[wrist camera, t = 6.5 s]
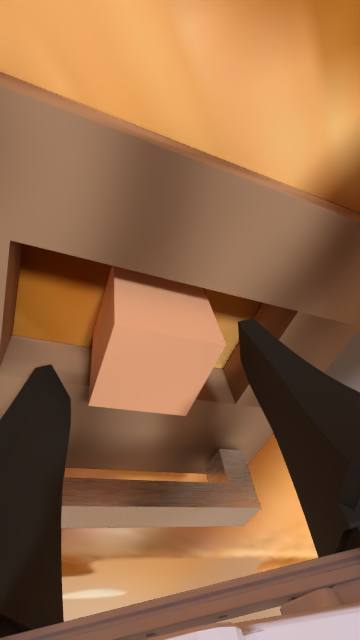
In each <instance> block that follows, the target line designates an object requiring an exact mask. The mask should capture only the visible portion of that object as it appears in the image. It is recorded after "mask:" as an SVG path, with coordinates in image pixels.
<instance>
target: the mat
mask: <svg viewBox="0 0 360 640" xmlns="http://www.w3.org/2000/svg"><path fill="white" fill-rule="evenodd" d="M324 373H325V374H327V375H329V376H330V377H332V378H334V379H335V380H337V381H339V382H341V383H342V384H344V385H346V386H348V387H350V388H352V389H354V390H356V391H358V392H360V329H359V330H358V331H357V333H356V334H355V335H354V336H353V338H352V339H351V340H350V341H349V342H348V344H347V345H346V346H345V347H344V348H343V350H342V351H341V352H340V353H339V355H338V356H337V357H336V358H335V359H334V361H333V362H332V363H331V364H330V365H329V367H328V368H327V369H326V370H325V372H324Z"/></svg>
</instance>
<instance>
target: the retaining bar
mask: <svg viewBox="0 0 360 640" xmlns="http://www.w3.org/2000/svg"><path fill="white" fill-rule="evenodd" d="M205 470H206V475H207V479H208V483H203V482H175V481H147V480H119V479H91V478H64V479H63V489H62V513H61V528H128V527H210V526H244V525H245V524H246V523H247V522H248V521H249V520H250V519H251V518H252V517H253V516H254V515H255V514H256V513H257V512H258V511H259V510H260V509H261V506H260V503H259V500H258V497H257V494H256V491H255V488H254V485H253V482H252V479H251V476H250V473H249V470H248V467H247V464H246V461H245V458H244V455H243V452H242V450H234V449H220V448H219V449H218V450H217V452H216V453H215V455H214V456H213V457H212V459H211V460H210V462H209V463H208V464H207V466H206V467H205Z"/></svg>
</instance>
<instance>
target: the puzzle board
mask: <svg viewBox="0 0 360 640" xmlns="http://www.w3.org/2000/svg"><path fill="white" fill-rule="evenodd" d="M23 244H27V245H31V246H35V247H39V248H43V249H47V250H51V251H55V252H59V253H63V254H68V255H72V256H76V257H80V258H84V259H88V260H92V261H96V262H100V263H104V264H108V265H112V266H116V267H120V268H124V269H128V270H132V271H136V272H141V273H145V274H149V275H153V276H157V277H161V278H165V279H169V280H173V281H177V282H181V283H185V284H189V285H193V286H197V287H201V288H205V289H210V290H214V291H218V292H222V293H226V294H230V295H234V296H238V297H242V298H246V299H250V300H254V301H258V302H262V305H261V306H260V308H259V310H258V311H257V313H256V315H255V316H254V319H255V320H257V321H258V322H259V323H260V324H261V325H262V326H263V327H265V328H266V329H267V330H268V331H269V332H270V333H271V334H272V335H274V336H275V337H276V338H277V339H278V340H280V341H281V342H282V343H283V344H285V345H286V346H287V347H288V348H290V349H291V350H292V351H293V352H295V353H296V354H297V355H299V356H300V357H301V358H303V359H304V360H306V361H307V362H309V363H310V364H311V365H313V366H314V367H316V368H317V369H319V370H321V371H322V372H325V370H326V369H327V368H328V367H329V365H330V364H331V363H332V362H333V361H334V359H335V358H336V357H337V356H338V355H339V353H340V352H341V351H342V350H343V348H344V347H345V346H346V345H347V344H348V342H349V341H350V340H351V339H352V338H353V336H354V335H355V334H356V333H357V331H358V330H359V329H360V213H357V212H355V211H352V210H350V209H347V208H344V207H342V206H339V205H337V204H334V203H332V202H329V201H327V200H324V199H322V198H319V197H317V196H314V195H311V194H309V193H306V192H304V191H301V190H299V189H296V188H294V187H291V186H289V185H286V184H284V183H281V182H278V181H276V180H273V179H271V178H268V177H266V176H263V175H261V174H258V173H256V172H253V171H251V170H248V169H245V168H243V167H240V166H238V165H235V164H233V163H230V162H228V161H225V160H223V159H220V158H218V157H215V156H213V155H210V154H207V153H205V152H202V151H200V150H197V149H195V148H192V147H190V146H187V145H185V144H182V143H180V142H177V141H174V140H172V139H169V138H167V137H164V136H162V135H159V134H157V133H154V132H152V131H149V130H147V129H144V128H141V127H139V126H136V125H134V124H131V123H129V122H126V121H124V120H121V119H119V118H116V117H114V116H111V115H108V114H106V113H103V112H101V111H98V110H96V109H93V108H91V107H88V106H86V105H83V104H81V103H78V102H75V101H73V100H70V99H68V98H65V97H63V96H60V95H58V94H55V93H53V92H50V91H48V90H45V89H43V88H40V87H37V86H35V85H32V84H30V83H27V82H25V81H22V80H20V79H17V78H15V77H12V76H10V75H7V74H4V73H2V72H0V419H1V418H2V416H3V415H4V414H5V412H6V411H7V409H8V408H9V406H10V405H11V403H12V402H13V401H14V399H15V398H16V396H17V395H18V393H19V392H20V390H21V388H22V387H23V385H24V384H25V382H26V381H27V379H28V378H29V376H30V375H31V373H32V372H33V370H34V369H35V368H36V367H41V366H45V365H50V364H52V366H53V368H54V370H55V371H56V373H57V375H58V377H59V378H60V380H61V382H62V384H63V386H64V387H65V389H66V391H67V393H68V395H69V396H70V398H71V427H70V435H69V443H68V450H67V457H66V464H65V467H66V468H88V469H110V470H132V471H154V472H176V473H199V474H206V470H205V467H206V466H207V464H208V463H209V462H210V460H211V459H212V457H213V456H214V455H215V453H216V452H217V450H218V449H219V448H220V449H234V450H242V452H243V455H244V458H245V461H246V464H247V465H248V464H249V463H250V461H251V460H252V459H253V458H254V457H255V455H256V454H257V453H258V452H259V450H260V449H261V448H262V447H263V446H264V444H265V443H266V442H267V441H268V440H269V438H270V437H271V436H272V435H273V430H272V428H271V426H270V425H269V423H268V421H267V419H266V417H265V415H264V413H263V411H262V409H261V407H260V405H259V403H258V401H257V399H256V397H255V395H254V393H253V391H252V388H251V386H250V384H249V382H248V380H247V377H246V374H245V371H244V369H243V366H242V363H241V360H240V345H239V343H238V345H237V347H236V348H235V350H234V352H233V353H232V355H231V357H230V359H229V360H228V362H227V364H226V365H225V367H224V369H218V368H213V369H212V371H211V373H210V375H209V376H208V378H207V380H206V382H205V383H204V385H203V387H202V389H201V390H200V392H199V394H198V396H197V397H196V399H195V401H194V403H193V404H192V406H191V408H190V410H189V411H188V413H187V415H186V416H180V415H171V414H162V413H152V412H143V411H133V410H124V409H114V408H105V407H95V406H88V403H89V389H90V374H91V360H92V348H88V347H82V346H76V345H70V344H64V343H58V342H51V341H45V340H39V339H33V338H27V337H20V336H14V335H12V331H13V322H14V314H15V305H16V296H17V288H18V279H19V270H20V262H21V253H22V245H23Z"/></svg>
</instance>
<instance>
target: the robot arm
mask: <svg viewBox="0 0 360 640" xmlns="http://www.w3.org/2000/svg"><path fill="white" fill-rule="evenodd" d="M238 329H239V345H240V360H241V363H242V366H243V369H244V371H245V374H246V377H247V380H248V382H249V384H250V386H251V388H252V391H253V393H254V395H255V397H256V399H257V401H258V403H259V405H260V407H261V409H262V411H263V413H264V415H265V417H266V419H267V421H268V423H269V425H270V426H271V428H272V430H273V433H274V435H275V437H276V439H277V442H278V444H279V447H280V450H281V452H282V455H283V457H284V460H285V463H286V465H287V468H288V471H289V473H290V476H291V479H292V481H293V484H294V487H295V490H296V492H297V495H298V498H299V501H300V504H301V507H302V510H303V512H304V515H305V518H306V521H307V524H308V527H309V530H310V533H311V536H312V539H313V542H314V545H315V548H316V551H317V554H318V557H319V558H316V559H312V560H308V561H304V562H300V563H296V564H292V565H288V566H284V567H280V568H276V569H272V570H268V571H265V572H261V573H257V574H253V575H249V576H245V577H241V578H237V579H233V580H229V581H225V582H221V583H217V584H213V585H209V586H206V587H201V588H197V589H193V590H190V591H185V592H181V593H178V594H173V595H169V596H165V597H161V598H158V599H153V600H149V601H146V602H142V603H138V604H134V605H130V606H126V607H122V608H118V609H114V610H110V611H106V612H102V613H98V614H94V615H90V616H86V617H82V618H78V619H74V620H70V621H66V622H64V620H63V600H62V574H61V513H62V489H63V479H64V472H65V464H66V457H67V450H68V443H69V435H70V427H71V398H70V396H69V395H68V393H67V391H66V389H65V387H64V386H63V384H62V382H61V380H60V378H59V377H58V375H57V373H56V371H55V370H54V368H53V366H52V364H50V365H45V366H41V367H36V368H35V369H34V370H33V372H32V373H31V375H30V376H29V378H28V379H27V381H26V382H25V384H24V385H23V387H22V388H21V390H20V392H19V393H18V395H17V396H16V398H15V399H14V401H13V402H12V403H11V405H10V406H9V408H8V409H7V411H6V412H5V414H4V415H3V416H2V418H1V419H0V640H360V392H358V391H356V390H354V389H352V388H350V387H348V386H346V385H344V384H342V383H341V382H339V381H337V380H335V379H334V378H332V377H330V376H329V375H327V374H325V373H324V372H322V371H321V370H319V369H317V368H316V367H314V366H313V365H311V364H310V363H309V362H307V361H306V360H304V359H303V358H301V357H300V356H299V355H297V354H296V353H295V352H293V351H292V350H291V349H290V348H288V347H287V346H286V345H285V344H283V343H282V342H281V341H280V340H278V339H277V338H276V337H275V336H274V335H272V334H271V333H270V332H269V331H268V330H267V329H266V328H265V327H263V326H262V325H261V324H260V323H259V322H258V321H257V320H255V319H254V318H253V319H248V320H244V321H239V322H238ZM278 606H281V609H280V611H281V614H282V615H281V616H274V617H269V618H263V619H257V620H251V621H246V622H240V623H234V624H233V623H231V622H229V623H215V622H219V621H223V620H227V619H231V618H235V617H239V616H243V615H247V614H250V613H255V612H258V611H262V610H266V609H270V608H274V607H278ZM212 623H213V624H212Z"/></svg>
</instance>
